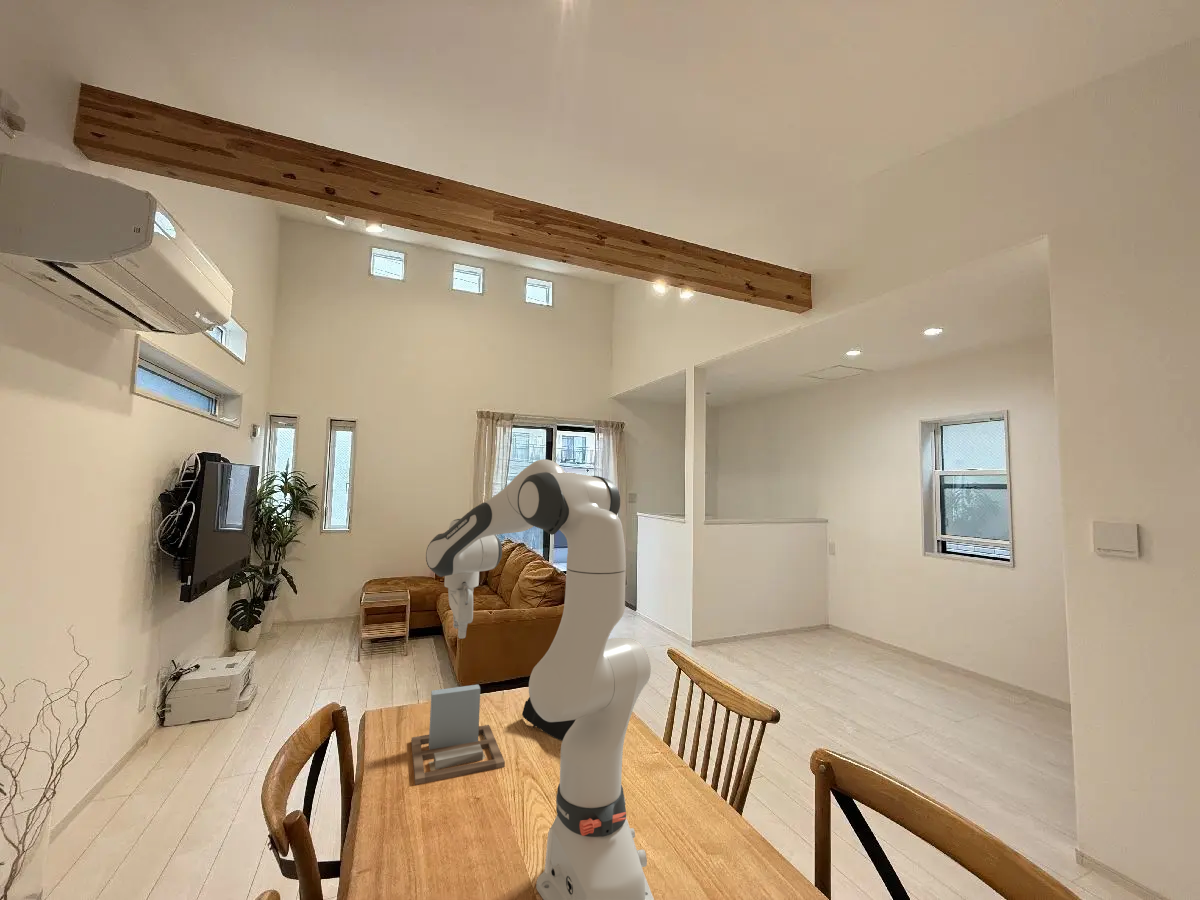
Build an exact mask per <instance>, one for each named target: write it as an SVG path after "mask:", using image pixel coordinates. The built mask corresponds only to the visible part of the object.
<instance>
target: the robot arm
mask: <svg viewBox="0 0 1200 900" xmlns="http://www.w3.org/2000/svg"><path fill="white" fill-rule="evenodd" d="M620 507H621V495H620V492H619V489H618V487H617V485H616V484H615V483H614V482H613V481H611V480H610V479H608V478H605V477H603V476H599V475H587V474H580V473H575V472H566V471H565V470H564V469H563V468H562V466H560V465H559V464H558V463H557V462H555V461H553V460H550V459H539V460H536V461H534V462H532V463H531V464H529V465H527V466H526V467H525V468H524V469H523V470H521V471H519V473H518V474H517V475H516V476H514V477H513V479H512V480H511V481H510V482H509V483H508V485H507V486H505V487H504V488H503V489H501V490H500V491H499V492H498V493H496V494H495V495H493V496H492V497H491V498H488V499H487V500H485V501H483V502H482V503H480V504H479V505H477V506H475V507H473V508H472V509H471V510H469V511H468V512H467V513H465V514H464V515H463V516H462V517H461V518H456V519H454V520H452V521H450V523H449V527H448V529H447V530H446V531H445V532H443V533H438V534H436V535H435V536H434V537H433V539H431V541H430V542H429V544H428V545H427V547H426V552H425V561H426V565H427V567H428V569H429V570H430V571H432V572H433V573H434V574H435V575H436V576H438V577H440V578H441V577H443V578H444V583H443V584H444V587H445V588H447V592H448V593H447V594H448V595H447V596H448V605H449V608H450V610H451V612H452V620H453V624H452V625H453V626H452V627H453V628H454V629H455V630H456V629H457V637H458V639H465V638H466V637H467V628H468V624H471V623H473V621H474V620H473V619H474V589H475V588H476V587H479V585H480V584H479V583H480V572H485V571H490V570H494V569H495V568H496V567H497V566H498V565H499V563H500V561H501V560H502V557H503V546H502V545H503V544H502V541H500V539H499V537H498V535H503V534H504V535H505V534H512V533H513V534H514V533H515V534H516V533H522V532H525V531H528V530H530V529H532V528H534V527H535V528H538V529H541V530H543V531H544V532H546V533H547V534H548V535H551V536H552V535H555V534H557V532H559V531H560V532H561V533H562V534H563V535H564V537H565V539H566V543H567V555H566V576H565V593H564V604H563V605H564V606H563V611H562V616H561V620H560V623H559V626H558V628H557V631H556V634H555V636H554V638H553V640H552V642H551V644H550V646H549V648H548V650H547V651H546V652H545V654H544V655H543V657H542V658H541V659H540V660H539V661H538V662H537V664H535V666H534V667H533V668H532V670H531V673H530V677H529V681H528V696H529V697H530V700H531V703H532V706H533V708H534V709H535V711H536V712H537V714H538V715H539V716H540V717H541V718H542V719H544V720H545V721H547V722H561V721H569V720H575V719H576V720H575V722H574V723H573V725H572V726H571V727H570V728H569V730H568V731H567V733H566V734H565V736H564V738H563V741H561V746H560V764H559V784H558V786H557V789H556V790H557V792H556V795H555V796H556V797H555V804H556V805H555V806H556V816H555V819H554V821H553V823H552V824H551V826H550V828H549V830H548V833H547V841H546V852H545V864H544V870H543V872H542V873H541V874H540V875H539V876H538V878H537V879H536V885H535V888H536V890H537V892H538V894H539V895H540V896H541V898H542V900H655V898H654V896H653V894H652V891H651V888H650V886H649V883H648V880H647V877H646V875H645V873H644V869H643V868H644V867H645V868H646V866H647V865H648V857H647V853H646V851H645V849H637V847H636V843H635V838H636V832H635V828H634V827H631V828H630V824H629V821H628V818H627V810H626V805H627V804H626V798H625V794H624V787H623V785H622V775H623V774H622V773H623V772H622V771H623V770H622V769H623V755H624V754H623V751H624V743H625V740H626V739H625V738H626V734H627V730H628V726H629V723H630V719H631V716H632V714H633V710H634V708H635V706H636V703H637V701H638V698H639V696H640V694H641V693H642V691H643V690H644V688H645V686H646V685H647V684H648V682H649V680H650V678H651V674H652V673H651V671H652V670H651V669H652V668H651V667H652V666H651V661H650V657H649V654H648V653H647V650H646V649H645V647H644V646H643V645H642V644H641V643H640V642H639V641H637V640H635V639H633V638H625V637H624V638H623V637H614V638H613V637H612V638H609V637H610V635H611V633H612V631H613V629H614V627H616V625H617V624H618V623H619V622H620V620H621V618H622V617H623V616H624V613H625V609H626V576H627V575H626V573H627V572H626V570H627V567H626V565H627V564H626V563H627V556H626V555H627V554H626V544H625V534H624V529H623V524H622V521H621V519H620V517H619V516H618V514H619V511H620ZM496 535H497V536H496Z"/></svg>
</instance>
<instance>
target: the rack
mask: <svg viewBox="0 0 1200 900" xmlns="http://www.w3.org/2000/svg"><path fill="white" fill-rule="evenodd" d="M478 735H483V738H484V739H482V740H478V741H476V742H471V743H465V744H459V745H453V746H448V747H442V748H436V749H431V750H429V749H427V750H422V745H423V744H429V734H424V735H418V736H412V737H411V741H410V743H411V753H412V755H411V756H412V764H413V765H412V766H413V776H414V784H415V786H416V785H422V784H427V783H431V782H436V781H440V780H441V781H442V780H446V779H452V778H455V777H456V778H457V777H461V776H466V775H471V774H472V775H473V774H477V773H483V772H486V771H491V770H496V769H501V768H505V767H506V764H505V763H506V761H505V758H504V757H503V754H502V751H501V750H500V748H499V744H498V742H497V740H496V738H495V736H494V733H493V730H492V728H491V726H490V724H484V725H479V733H478ZM478 744H480V745H481V748H482V750H484V749H488V752H489V753H490V755H491V759H489V760H484V761H483V760H482V761H476V762H471V763H466V764H461V765H456V766H452V767H447V768H443V769H438V770H433V771H431V770H430V771H425V768H424V760H429V759H434V753H438V752H443V751H448V750H453V749H458V748H463V747H468V746H473V745H478Z"/></svg>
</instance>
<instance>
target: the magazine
mask: <svg viewBox="0 0 1200 900" xmlns="http://www.w3.org/2000/svg"><path fill="white" fill-rule="evenodd" d="M521 715H522V718H523V719H525V720H526V721H528V723H530V724H531V725H532V728H533V729H534V728H536V729H538V730H540V731H542V732H543V733H545V734H547V735H549V736H550V737H552V738H554V739H556V740H559V741H560V742H562V741H563V738H564V736H565V734H566V733H567V731H568V730H569V728H570V727H571V726H572V725H573V723H574V722H575V720H576V719H575V720H569V721H561V722H547V721H545V720H544V719H542V718H541V717H540V716H539V715H538V714H537V712H536V711H535V709H534V708H533V706H532V703H531V700H530V696H529V697H528V699H527V700H526V701H525V703H524V705H523V710H522V714H521Z"/></svg>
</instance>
